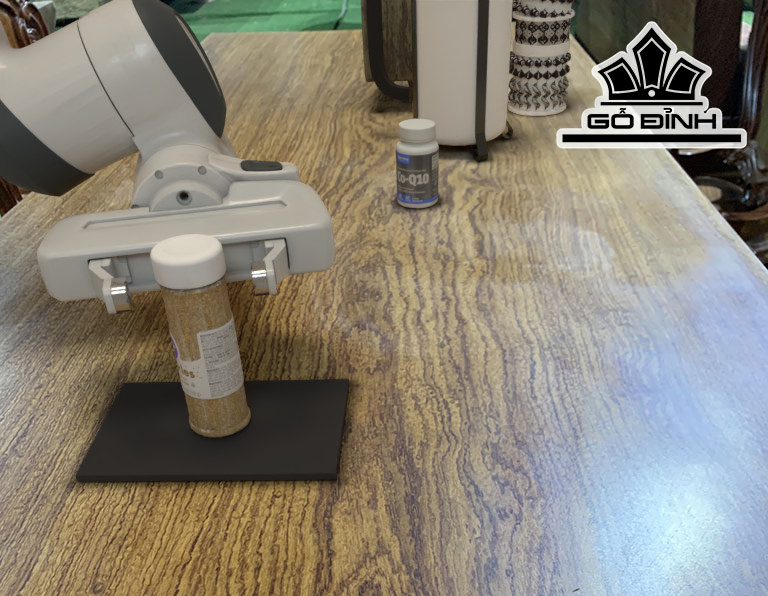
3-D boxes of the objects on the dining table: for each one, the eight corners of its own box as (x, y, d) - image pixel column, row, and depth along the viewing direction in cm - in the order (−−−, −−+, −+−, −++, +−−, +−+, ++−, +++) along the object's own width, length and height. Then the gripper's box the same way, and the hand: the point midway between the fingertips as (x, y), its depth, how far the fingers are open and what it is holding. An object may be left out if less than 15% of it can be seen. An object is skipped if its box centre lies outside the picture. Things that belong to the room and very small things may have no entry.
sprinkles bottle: (180, 419, 61) (137, 244, 52) (235, 398, 63) (202, 225, 54) (207, 448, 58) (166, 267, 50) (263, 425, 60) (234, 247, 51)
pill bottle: (392, 207, 93) (389, 128, 88) (403, 192, 97) (401, 116, 91) (432, 210, 92) (432, 130, 86) (443, 195, 95) (443, 117, 90)
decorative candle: (550, 120, 116) (568, -102, 99) (493, 111, 120) (501, -103, 104) (580, 104, 121) (602, -109, 105) (524, 96, 125) (537, -110, 109)
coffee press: (490, 120, 117) (500, -152, 97) (534, 154, 105) (556, -148, 85) (371, 136, 114) (356, -142, 94) (403, 172, 102) (394, -136, 82)
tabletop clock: (376, 89, 132) (367, -105, 116) (432, 88, 131) (432, -108, 115) (366, 115, 121) (355, -95, 105) (428, 114, 120) (426, -98, 104)
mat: (77, 482, 57) (74, 475, 57) (125, 388, 66) (123, 382, 66) (336, 480, 56) (335, 473, 56) (349, 385, 65) (348, 378, 65)
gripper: (38, 188, 60) (8, 265, 50) (316, 159, 63) (342, 228, 52) (64, 270, 64) (40, 357, 54) (323, 240, 67) (349, 319, 56)
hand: (191, 293), depth 53 cm, fingers open, 8 cm apart
